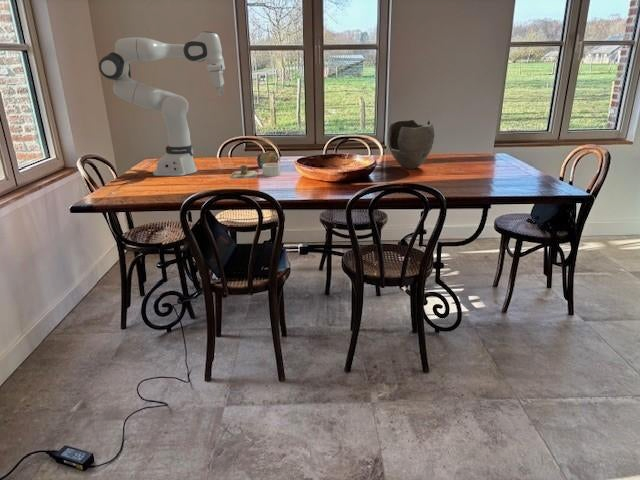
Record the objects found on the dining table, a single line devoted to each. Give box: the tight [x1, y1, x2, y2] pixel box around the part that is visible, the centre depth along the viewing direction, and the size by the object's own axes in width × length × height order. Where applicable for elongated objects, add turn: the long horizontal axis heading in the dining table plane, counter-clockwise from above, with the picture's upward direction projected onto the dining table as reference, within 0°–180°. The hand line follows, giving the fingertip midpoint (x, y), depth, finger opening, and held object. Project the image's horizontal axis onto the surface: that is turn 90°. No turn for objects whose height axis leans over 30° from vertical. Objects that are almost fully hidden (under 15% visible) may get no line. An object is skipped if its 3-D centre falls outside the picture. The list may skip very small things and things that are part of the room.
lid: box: [232, 164, 256, 179], centre depth 237 cm, size 11×11×5 cm
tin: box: [256, 150, 279, 169], centre depth 256 cm, size 15×3×8 cm, turn 143°
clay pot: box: [387, 119, 435, 170], centre depth 246 cm, size 24×24×25 cm
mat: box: [230, 171, 258, 180], centre depth 238 cm, size 13×13×1 cm
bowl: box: [262, 162, 281, 178], centre depth 238 cm, size 9×9×5 cm
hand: (221, 95), depth 235 cm, fingers open, 8 cm apart
